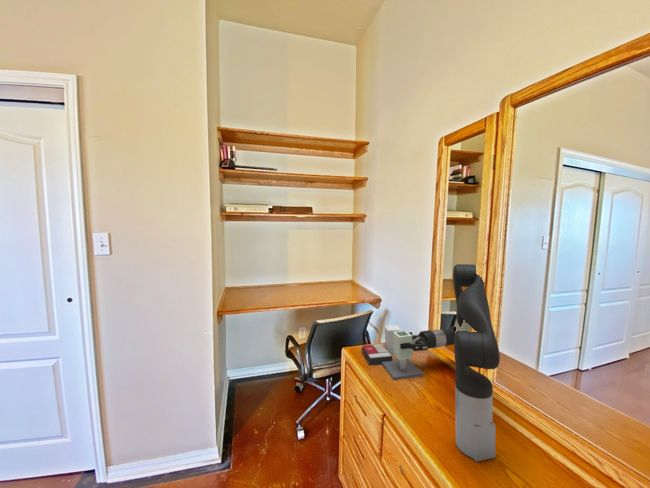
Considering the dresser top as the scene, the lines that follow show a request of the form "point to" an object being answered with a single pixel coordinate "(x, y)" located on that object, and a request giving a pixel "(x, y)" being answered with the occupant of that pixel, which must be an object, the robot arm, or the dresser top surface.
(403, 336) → the sleeve
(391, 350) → the supplement box
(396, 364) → the post stand
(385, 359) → the dark gray paneled box
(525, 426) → the dresser top surface
